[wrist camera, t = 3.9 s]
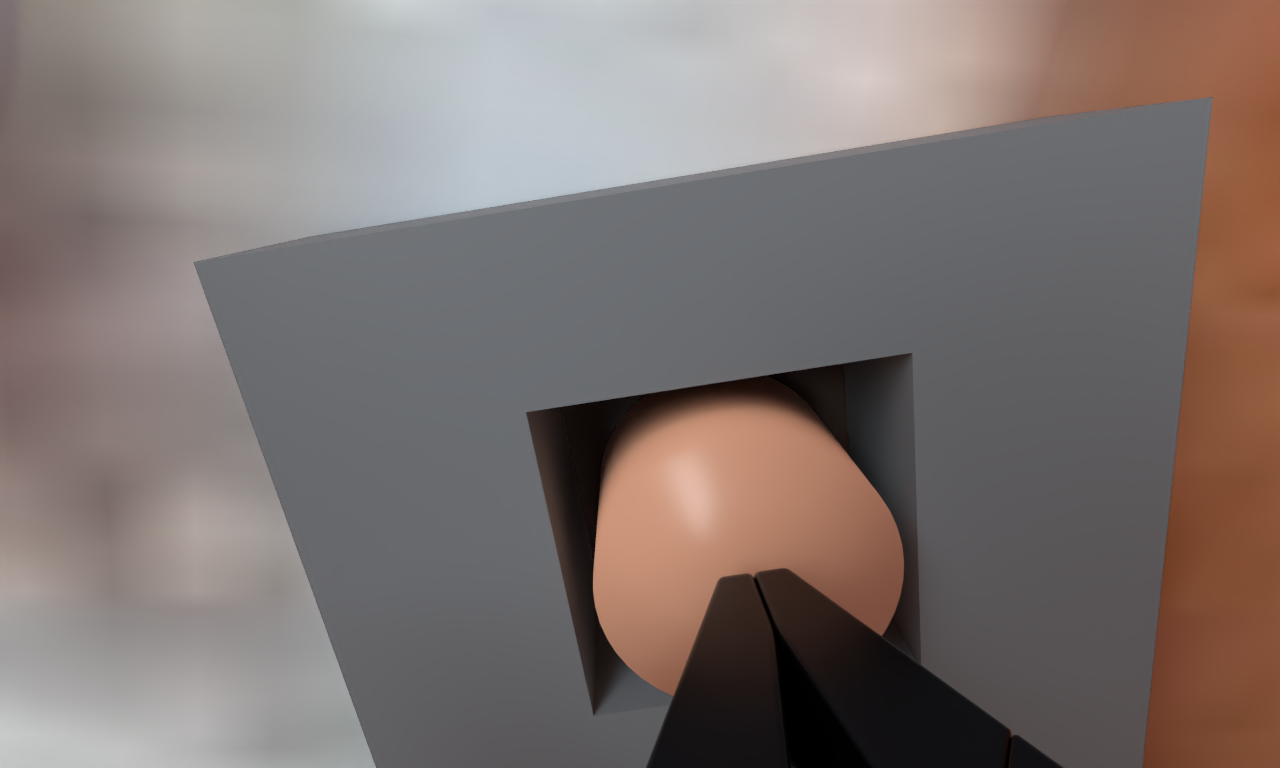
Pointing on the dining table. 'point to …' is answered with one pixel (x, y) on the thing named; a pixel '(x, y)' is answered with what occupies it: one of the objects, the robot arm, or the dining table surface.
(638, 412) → the orange rounded piece
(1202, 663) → the dining table surface
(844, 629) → the robot arm
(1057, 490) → the button panel
